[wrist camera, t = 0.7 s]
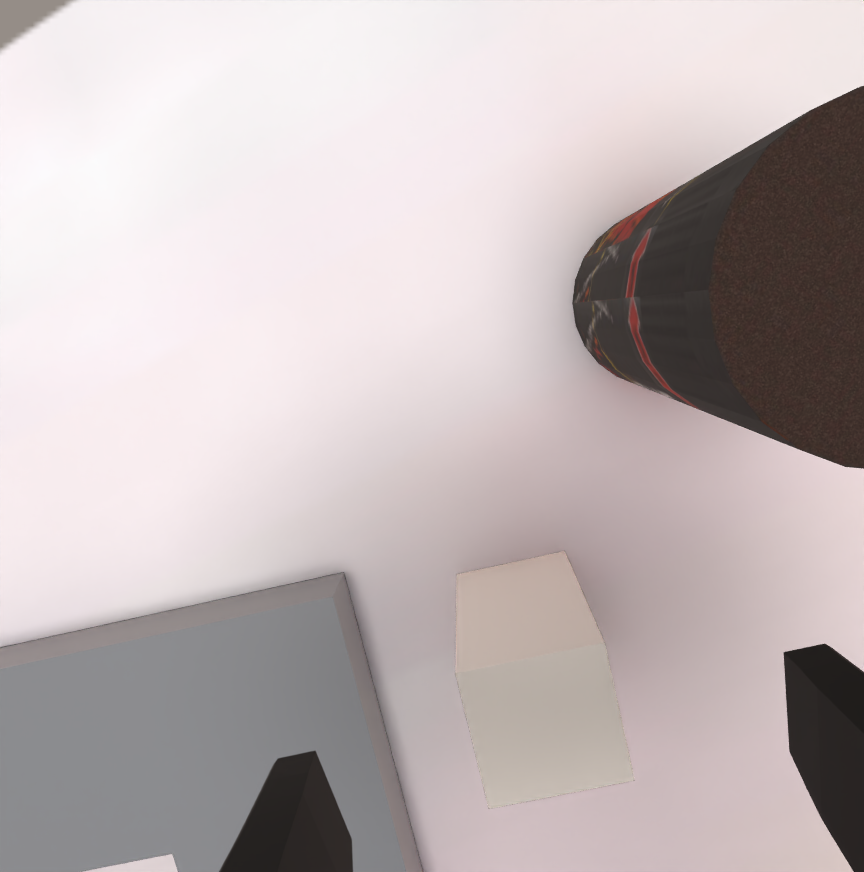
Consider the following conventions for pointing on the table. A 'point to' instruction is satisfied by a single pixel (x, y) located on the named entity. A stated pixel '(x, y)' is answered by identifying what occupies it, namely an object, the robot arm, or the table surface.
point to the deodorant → (747, 287)
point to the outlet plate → (192, 733)
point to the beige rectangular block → (536, 683)
